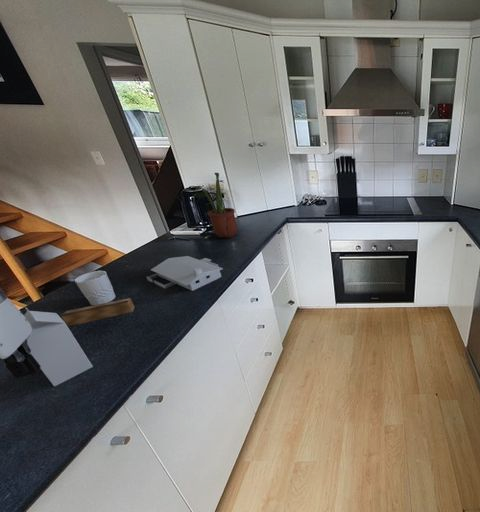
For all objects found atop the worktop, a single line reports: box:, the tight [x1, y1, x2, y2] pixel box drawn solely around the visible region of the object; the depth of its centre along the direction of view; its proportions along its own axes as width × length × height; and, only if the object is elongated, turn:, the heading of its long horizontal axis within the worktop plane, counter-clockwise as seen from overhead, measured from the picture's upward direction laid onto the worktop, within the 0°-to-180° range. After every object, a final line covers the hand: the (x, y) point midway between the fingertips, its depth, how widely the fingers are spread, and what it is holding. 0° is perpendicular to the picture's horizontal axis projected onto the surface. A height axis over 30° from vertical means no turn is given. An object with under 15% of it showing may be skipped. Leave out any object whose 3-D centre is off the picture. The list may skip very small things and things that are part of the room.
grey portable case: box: [145, 255, 224, 292], centre depth 114 cm, size 25×24×7 cm
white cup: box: [74, 270, 117, 306], centre depth 96 cm, size 8×8×10 cm
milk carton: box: [23, 306, 94, 387], centre depth 66 cm, size 7×7×19 cm
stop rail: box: [60, 297, 136, 327], centre depth 89 cm, size 16×3×5 cm, turn 118°
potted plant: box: [191, 172, 238, 240], centre depth 144 cm, size 17×16×35 cm
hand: (28, 372), depth 58 cm, fingers closed
